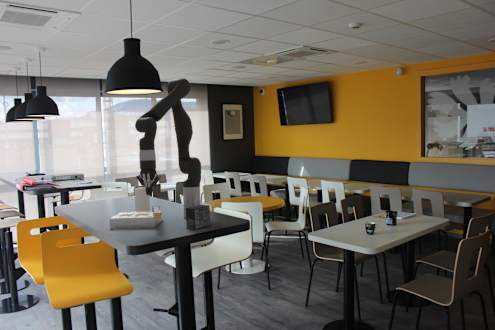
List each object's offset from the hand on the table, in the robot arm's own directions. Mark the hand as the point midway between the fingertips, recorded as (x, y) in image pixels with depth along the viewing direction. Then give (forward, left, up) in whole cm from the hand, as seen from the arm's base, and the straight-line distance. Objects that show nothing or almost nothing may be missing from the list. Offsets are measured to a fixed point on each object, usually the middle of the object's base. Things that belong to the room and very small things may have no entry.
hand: (149, 194), depth 193 cm
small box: (-23, +2, -17) cm, 29 cm away
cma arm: (-3, -2, -11) cm, 11 cm away
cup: (+13, -36, -17) cm, 42 cm away
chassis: (+10, -11, -16) cm, 22 cm away
